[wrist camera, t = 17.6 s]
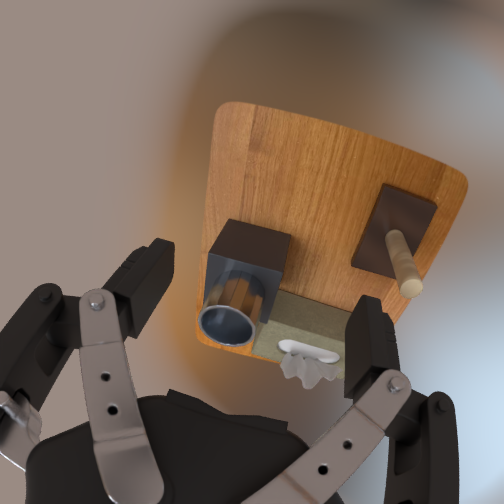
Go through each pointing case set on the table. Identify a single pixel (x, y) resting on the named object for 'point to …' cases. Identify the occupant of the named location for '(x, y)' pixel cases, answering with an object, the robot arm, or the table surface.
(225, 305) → the tin
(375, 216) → the board
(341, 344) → the tissue box
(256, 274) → the stand
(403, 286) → the stick
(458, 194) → the table surface
